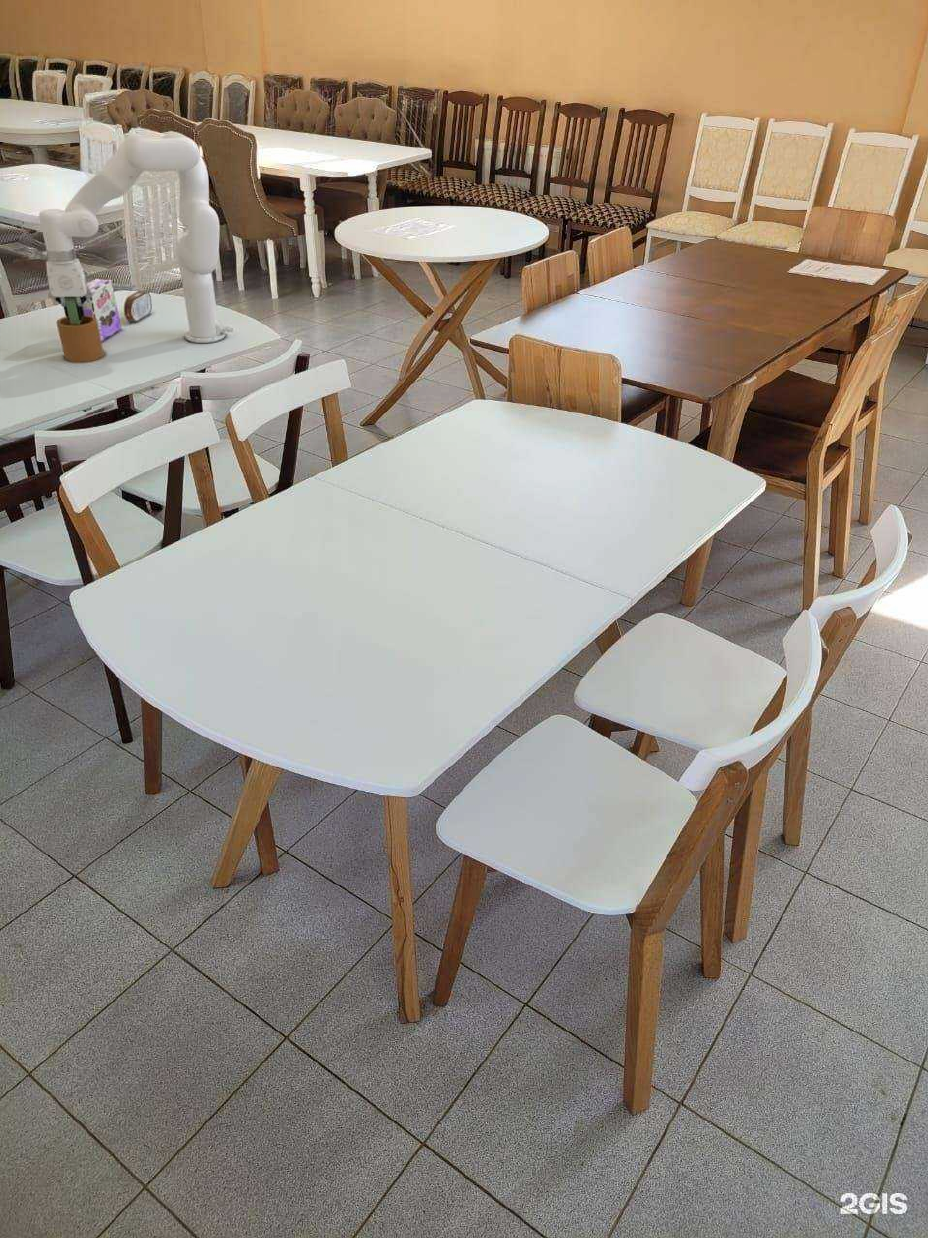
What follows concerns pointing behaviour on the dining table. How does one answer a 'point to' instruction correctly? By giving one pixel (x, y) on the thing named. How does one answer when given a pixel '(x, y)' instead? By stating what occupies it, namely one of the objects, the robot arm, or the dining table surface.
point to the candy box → (103, 307)
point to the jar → (80, 339)
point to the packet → (72, 310)
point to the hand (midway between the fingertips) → (75, 317)
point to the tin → (137, 306)
